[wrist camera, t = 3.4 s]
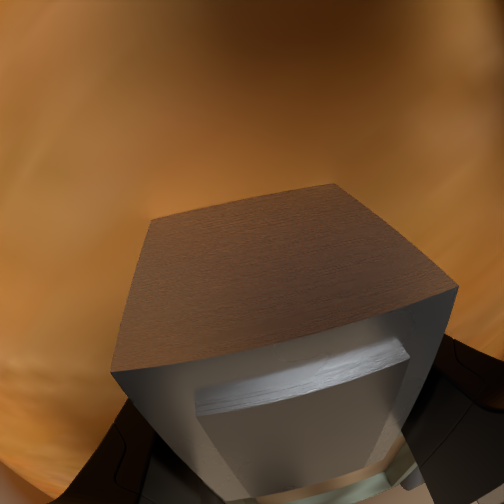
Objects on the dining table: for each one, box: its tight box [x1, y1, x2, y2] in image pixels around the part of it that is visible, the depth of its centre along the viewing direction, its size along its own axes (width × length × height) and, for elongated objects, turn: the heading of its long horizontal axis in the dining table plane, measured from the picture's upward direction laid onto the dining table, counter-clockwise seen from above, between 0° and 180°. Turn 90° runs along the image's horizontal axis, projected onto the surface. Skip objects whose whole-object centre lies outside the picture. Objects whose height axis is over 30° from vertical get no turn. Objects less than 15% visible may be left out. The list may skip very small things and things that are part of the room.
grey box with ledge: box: [110, 184, 459, 501], centre depth 7 cm, size 5×7×5 cm
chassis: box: [199, 430, 425, 504], centre depth 16 cm, size 18×19×4 cm
